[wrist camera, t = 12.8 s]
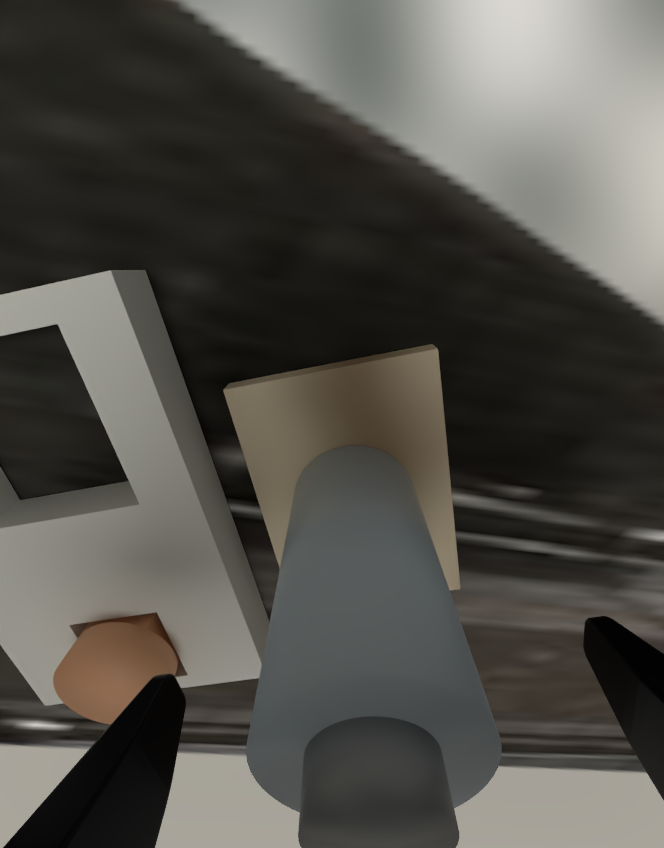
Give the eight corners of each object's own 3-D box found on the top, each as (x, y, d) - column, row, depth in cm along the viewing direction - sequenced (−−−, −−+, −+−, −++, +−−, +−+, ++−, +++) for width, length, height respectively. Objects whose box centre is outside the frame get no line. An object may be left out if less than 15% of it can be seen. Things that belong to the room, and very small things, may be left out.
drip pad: (295, 597, 17) (293, 613, 16) (229, 383, 13) (223, 390, 13) (454, 574, 16) (460, 589, 16) (431, 344, 13) (437, 348, 12)
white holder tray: (73, 662, 19) (45, 705, 17) (-140, 333, 13) (-221, 344, 11) (273, 634, 18) (266, 676, 16) (145, 270, 12) (110, 270, 10)
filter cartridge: (308, 554, 15) (272, 911, 7) (281, 456, 13) (191, 769, 5) (420, 538, 15) (528, 894, 6) (407, 435, 13) (529, 735, 5)
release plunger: (121, 657, 18) (82, 730, 15) (84, 592, 16) (32, 660, 13) (204, 646, 17) (180, 718, 15) (174, 579, 16) (140, 644, 13)
